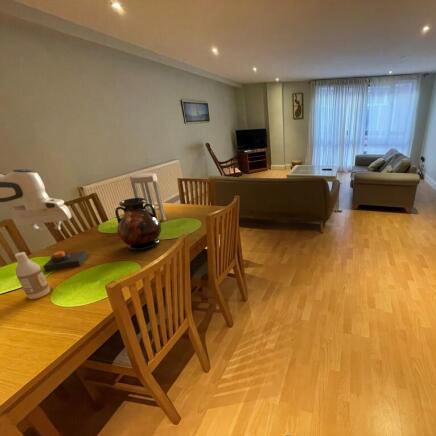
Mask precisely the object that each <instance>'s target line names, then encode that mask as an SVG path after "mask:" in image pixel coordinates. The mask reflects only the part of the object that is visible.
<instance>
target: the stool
mask: <svg viewBox="0 0 436 436" xmlns="http://www.w3.org/2000/svg"><path fill="white" fill-rule="evenodd" d="M129 181H130V185H131V188H132V192H133V195H134V198H141V194H140V190H139V187H138V184H139V185H140V188H141V191H142V195H143V198H144V199H146V202H145V203H144V205H145V204H152V205H153V207H154V209H155V213H156V217H157V219H158V220H159V216H158V212H159V215H160V220H161V221H166V220H167V218H166V214H165V208H164V204H163V199H162V195H161V191H160V186H159V182H158V177H157V174H156V173H154V172H142V173H136V174H132V175H130V176H129ZM151 183H152V184H153V189H154V194H155V198H156V203H155V199H154V194H153V190H152V186H151ZM146 210H148V211H149V212H151V213H152V214H153V211H152V208H151V207H150V206H146ZM157 211H158V212H157Z"/></svg>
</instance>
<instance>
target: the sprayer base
mask: <svg viewBox="0 0 436 436" xmlns="http://www.w3.org/2000/svg"><path fill="white" fill-rule="evenodd" d="M64 253H65V256H63V257H60V258H55V257H54V255H52V256H51V257H50V259H49V260H48V261H46V262H45V264H44V265H43V269H44V271H45V272H52V271H57V270H64V269H71V268H76V267H77V268H78V267H81V266H82V264H83V263H84V262H85V261H86V260H87V258H88V257H89V253H88V251H87V250H82V251H75V252H68V251H67V252H66V251H64Z"/></svg>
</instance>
